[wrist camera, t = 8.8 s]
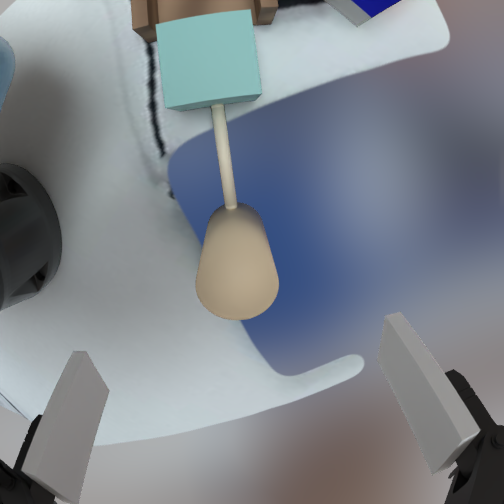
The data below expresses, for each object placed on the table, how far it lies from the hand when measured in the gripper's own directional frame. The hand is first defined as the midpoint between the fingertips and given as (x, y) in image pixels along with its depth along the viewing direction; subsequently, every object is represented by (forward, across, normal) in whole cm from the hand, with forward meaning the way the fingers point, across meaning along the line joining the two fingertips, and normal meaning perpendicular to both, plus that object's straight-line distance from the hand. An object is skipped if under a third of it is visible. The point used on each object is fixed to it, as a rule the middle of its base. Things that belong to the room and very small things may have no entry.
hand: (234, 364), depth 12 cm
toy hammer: (+17, 0, +7) cm, 18 cm away
